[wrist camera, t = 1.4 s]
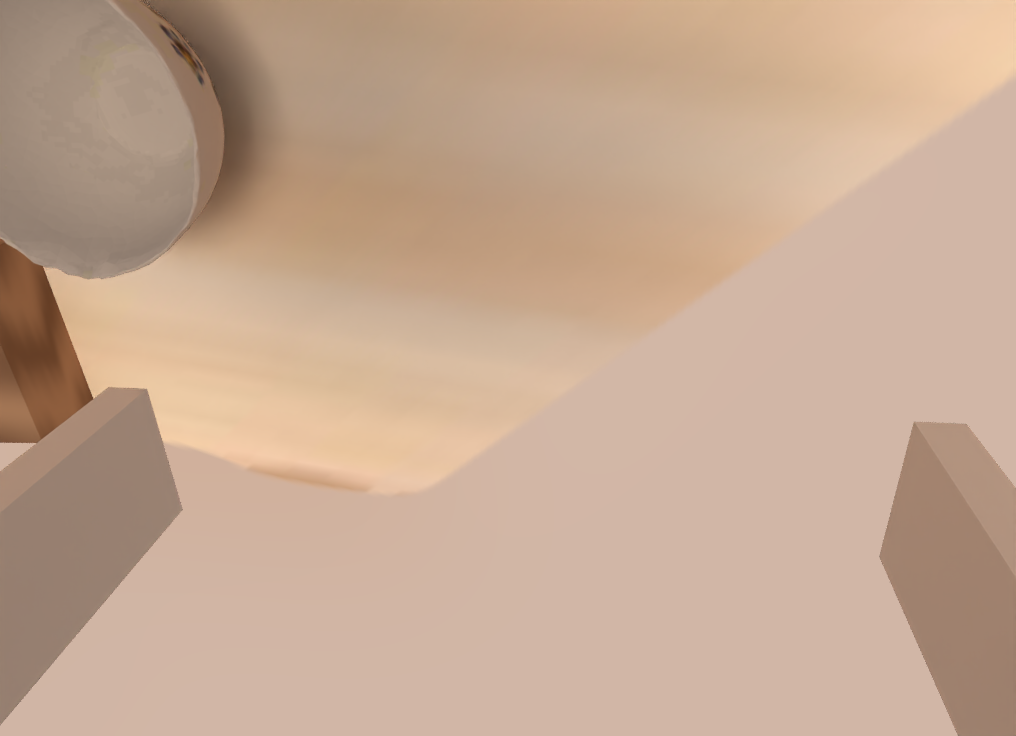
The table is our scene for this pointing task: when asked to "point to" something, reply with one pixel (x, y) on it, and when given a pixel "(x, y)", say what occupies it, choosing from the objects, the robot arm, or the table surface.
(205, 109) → the teacup
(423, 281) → the table surface
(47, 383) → the walnut block
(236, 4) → the table surface
